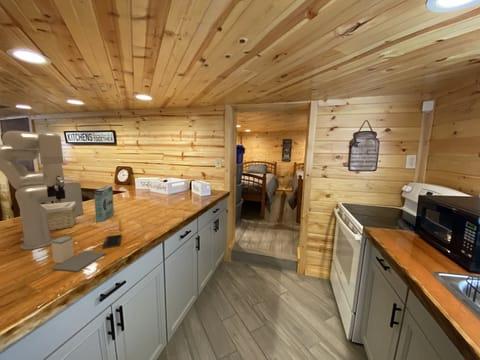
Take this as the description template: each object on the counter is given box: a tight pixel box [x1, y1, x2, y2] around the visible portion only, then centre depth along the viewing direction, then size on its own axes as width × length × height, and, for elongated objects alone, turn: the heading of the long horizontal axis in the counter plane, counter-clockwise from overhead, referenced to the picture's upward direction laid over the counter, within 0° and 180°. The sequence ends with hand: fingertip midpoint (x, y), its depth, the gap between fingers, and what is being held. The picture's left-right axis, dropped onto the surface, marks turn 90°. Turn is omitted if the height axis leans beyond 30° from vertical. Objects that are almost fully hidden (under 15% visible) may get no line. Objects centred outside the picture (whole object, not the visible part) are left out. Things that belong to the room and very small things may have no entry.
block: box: [51, 236, 75, 264], centre depth 89 cm, size 5×5×10 cm
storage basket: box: [19, 202, 77, 231], centre depth 127 cm, size 24×16×15 cm
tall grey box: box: [60, 182, 84, 217], centre depth 151 cm, size 12×12×25 cm
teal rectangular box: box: [93, 185, 115, 223], centre depth 147 cm, size 20×5×23 cm, turn 13°
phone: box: [102, 234, 123, 250], centre depth 109 cm, size 8×1×15 cm
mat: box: [51, 250, 107, 273], centre depth 89 cm, size 12×15×1 cm
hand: (56, 197), depth 91 cm, fingers open, 9 cm apart
